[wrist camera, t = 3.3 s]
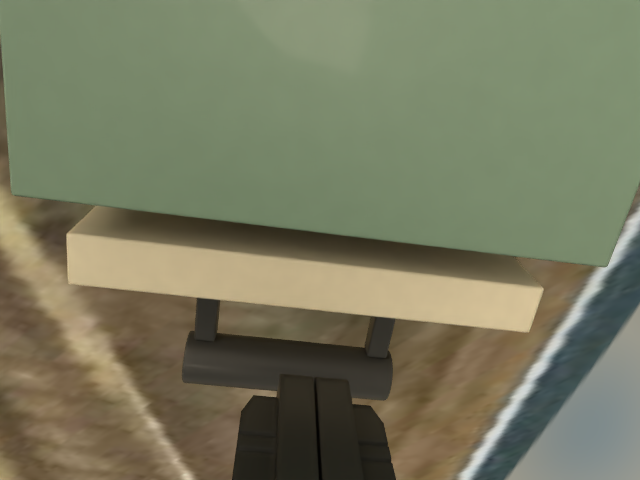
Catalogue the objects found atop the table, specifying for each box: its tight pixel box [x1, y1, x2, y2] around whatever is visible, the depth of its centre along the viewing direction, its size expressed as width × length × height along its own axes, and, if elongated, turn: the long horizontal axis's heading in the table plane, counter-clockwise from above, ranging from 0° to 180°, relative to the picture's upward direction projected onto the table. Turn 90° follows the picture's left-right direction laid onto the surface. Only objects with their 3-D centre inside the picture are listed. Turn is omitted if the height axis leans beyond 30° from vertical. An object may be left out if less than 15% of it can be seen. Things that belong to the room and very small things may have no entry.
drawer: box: [67, 206, 543, 401], centre depth 14 cm, size 18×10×8 cm, turn 171°
